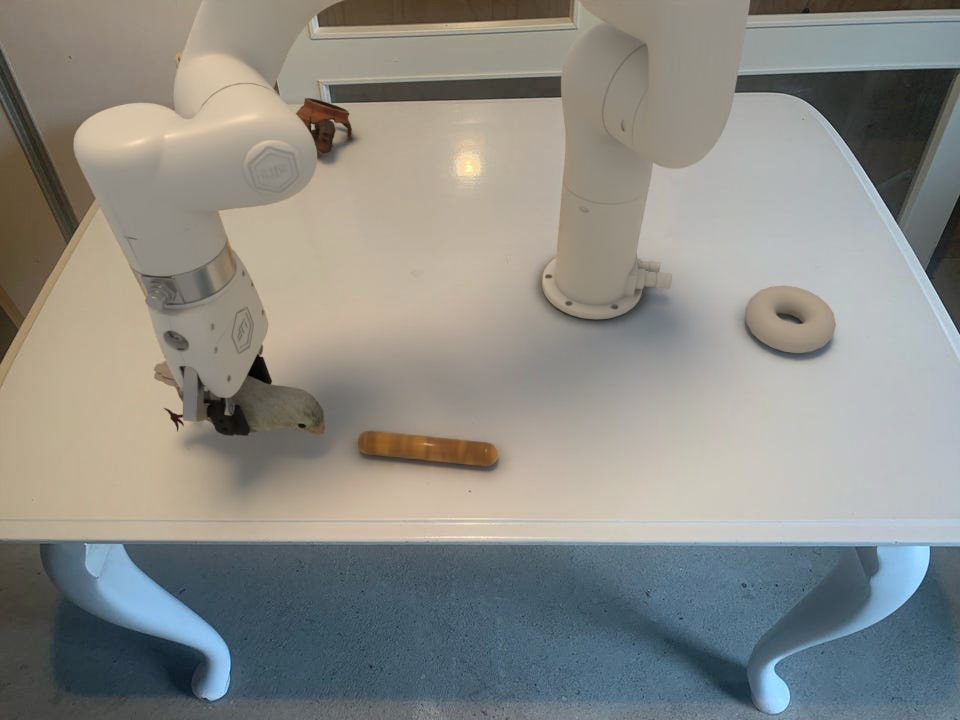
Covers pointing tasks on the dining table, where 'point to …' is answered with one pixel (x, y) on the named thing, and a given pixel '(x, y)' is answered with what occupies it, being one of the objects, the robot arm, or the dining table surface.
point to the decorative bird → (263, 404)
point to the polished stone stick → (427, 448)
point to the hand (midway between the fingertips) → (245, 406)
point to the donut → (783, 333)
